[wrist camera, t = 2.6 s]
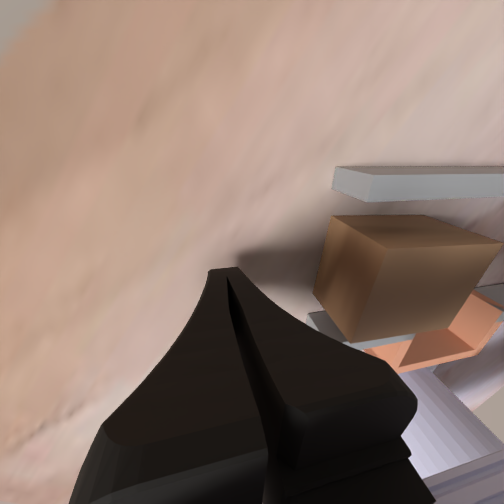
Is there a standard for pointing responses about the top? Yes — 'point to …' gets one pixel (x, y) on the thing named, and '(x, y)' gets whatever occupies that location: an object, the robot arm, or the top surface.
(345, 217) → the walnut block
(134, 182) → the top surface
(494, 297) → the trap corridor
